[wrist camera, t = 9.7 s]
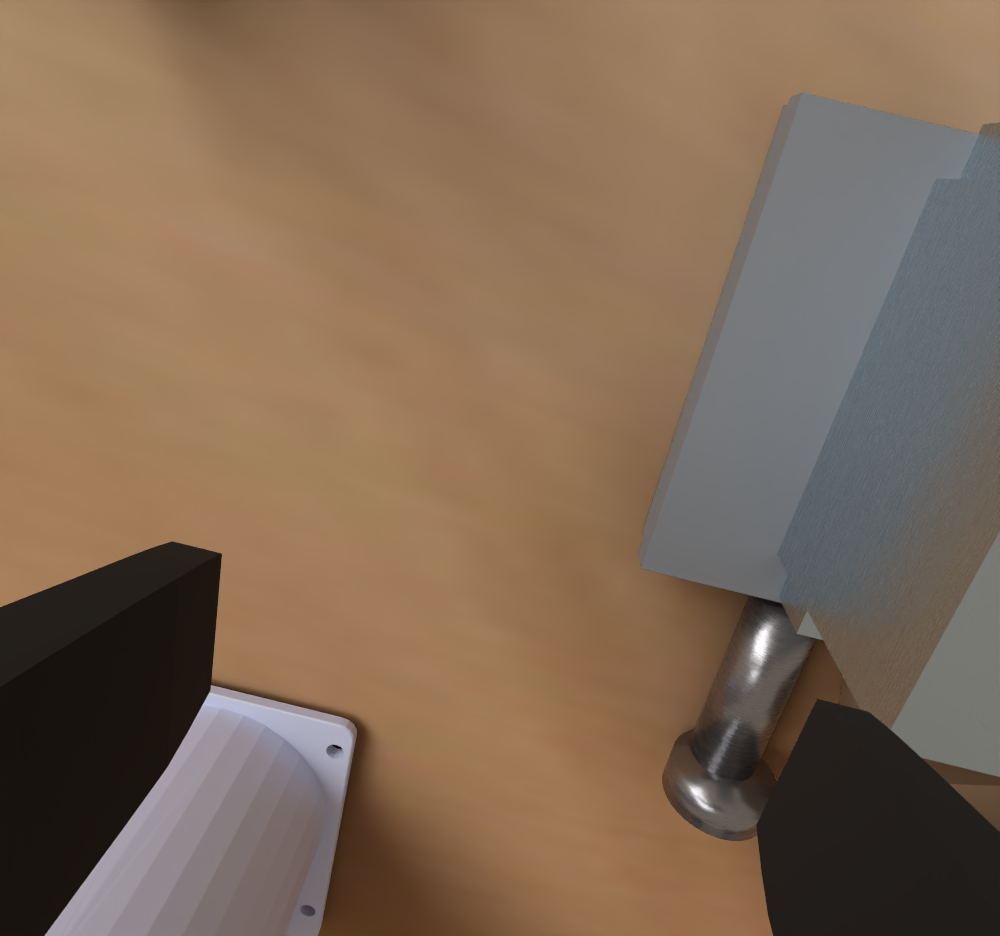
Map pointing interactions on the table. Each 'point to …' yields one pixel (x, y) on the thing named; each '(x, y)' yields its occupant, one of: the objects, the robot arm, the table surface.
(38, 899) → the robot arm
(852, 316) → the stand
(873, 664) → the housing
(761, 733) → the bolt
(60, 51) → the table surface
